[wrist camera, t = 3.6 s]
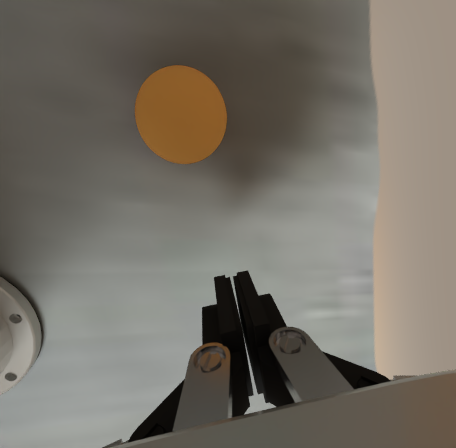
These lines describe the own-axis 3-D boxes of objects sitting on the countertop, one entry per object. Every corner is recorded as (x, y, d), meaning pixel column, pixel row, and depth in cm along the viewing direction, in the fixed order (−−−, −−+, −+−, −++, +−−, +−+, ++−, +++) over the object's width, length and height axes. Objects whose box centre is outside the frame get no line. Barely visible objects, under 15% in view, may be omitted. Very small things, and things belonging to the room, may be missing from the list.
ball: (211, 171, 19) (218, 176, 14) (138, 152, 18) (115, 149, 13) (229, 96, 18) (245, 69, 13) (152, 70, 17) (133, 29, 12)
